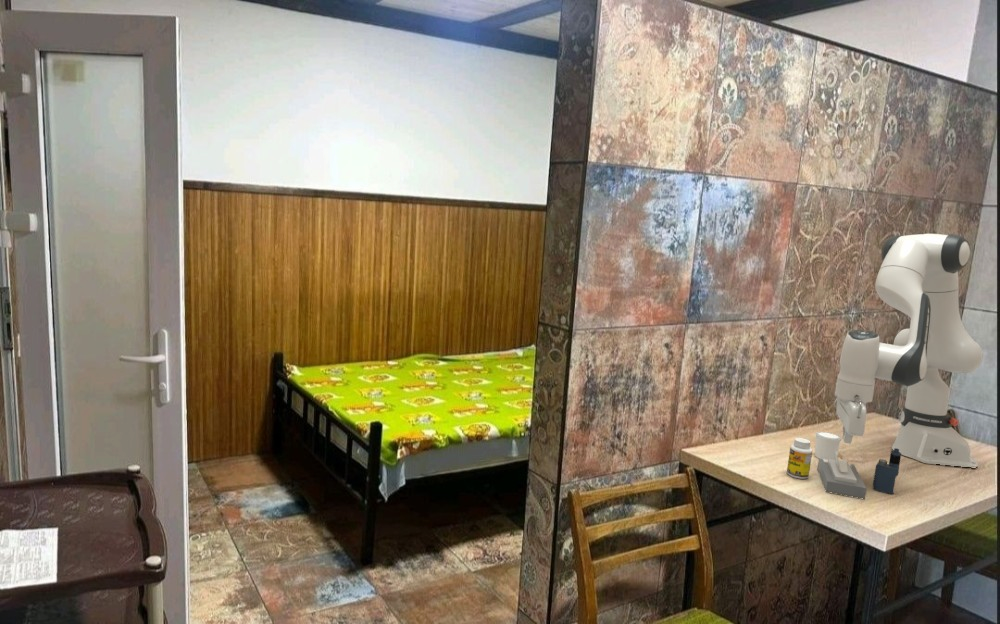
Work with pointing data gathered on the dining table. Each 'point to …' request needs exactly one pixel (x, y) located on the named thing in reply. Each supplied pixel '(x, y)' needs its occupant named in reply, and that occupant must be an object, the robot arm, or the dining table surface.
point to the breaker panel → (841, 479)
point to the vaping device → (887, 473)
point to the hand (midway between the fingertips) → (846, 441)
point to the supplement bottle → (799, 459)
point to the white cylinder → (826, 445)
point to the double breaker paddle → (841, 461)
